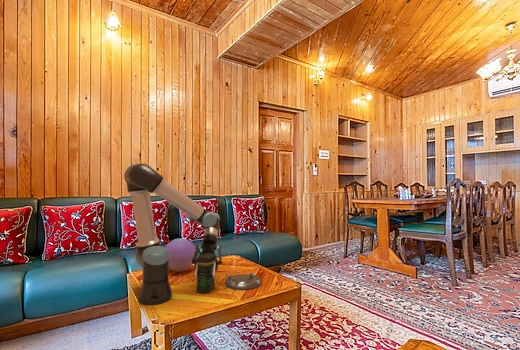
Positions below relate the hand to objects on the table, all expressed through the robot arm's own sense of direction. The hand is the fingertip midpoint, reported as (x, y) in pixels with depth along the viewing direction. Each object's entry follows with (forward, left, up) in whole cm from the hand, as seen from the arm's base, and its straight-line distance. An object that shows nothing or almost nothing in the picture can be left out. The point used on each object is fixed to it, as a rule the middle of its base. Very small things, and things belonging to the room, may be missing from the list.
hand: (204, 276), depth 143 cm
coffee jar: (-2, +3, -8) cm, 9 cm away
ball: (-36, +18, -8) cm, 41 cm away
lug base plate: (+9, +21, -8) cm, 24 cm away
